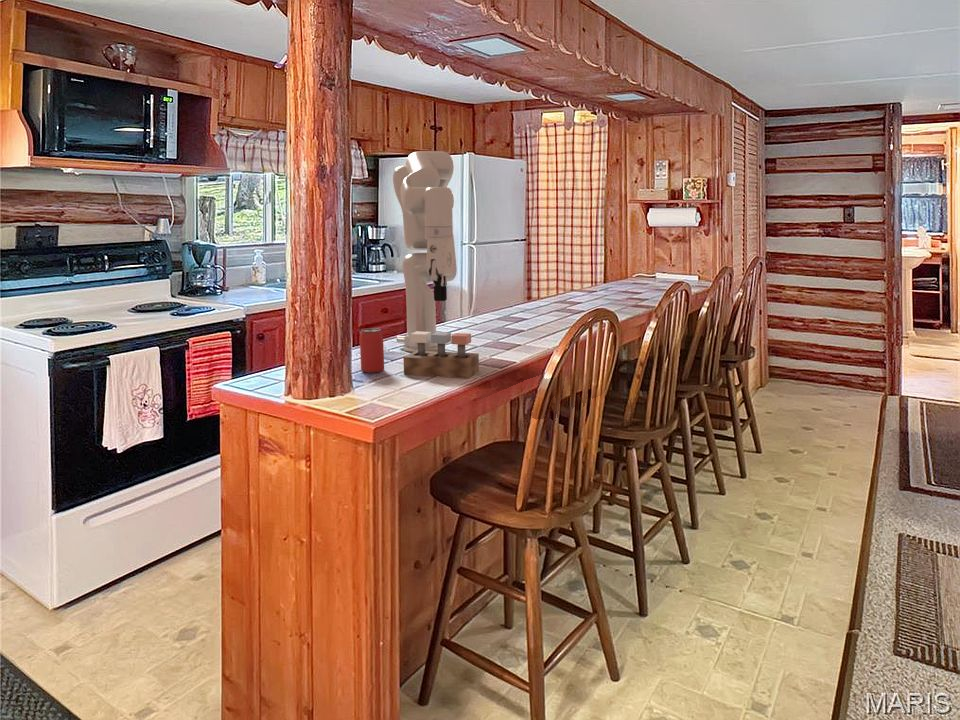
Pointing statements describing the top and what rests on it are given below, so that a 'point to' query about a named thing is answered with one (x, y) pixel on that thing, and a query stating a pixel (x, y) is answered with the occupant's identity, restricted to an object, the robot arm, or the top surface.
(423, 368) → the walnut console
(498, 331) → the top surface
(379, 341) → the beer can
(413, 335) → the white key
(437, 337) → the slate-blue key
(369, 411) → the top surface
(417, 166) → the robot arm
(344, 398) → the top surface
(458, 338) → the brick-red key
